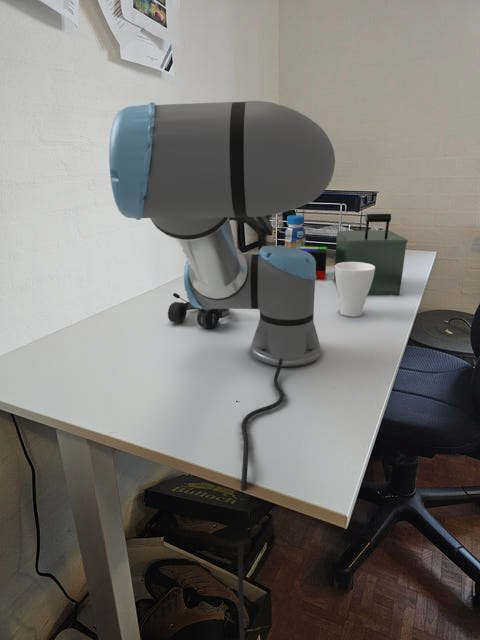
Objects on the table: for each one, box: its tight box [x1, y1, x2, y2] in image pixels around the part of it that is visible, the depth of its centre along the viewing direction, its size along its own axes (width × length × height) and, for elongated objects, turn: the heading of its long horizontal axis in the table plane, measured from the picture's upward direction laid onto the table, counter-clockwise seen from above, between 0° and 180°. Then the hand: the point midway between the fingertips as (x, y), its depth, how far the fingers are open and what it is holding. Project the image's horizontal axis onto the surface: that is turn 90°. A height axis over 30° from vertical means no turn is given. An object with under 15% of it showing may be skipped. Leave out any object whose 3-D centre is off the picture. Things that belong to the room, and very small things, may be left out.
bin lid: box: [336, 213, 409, 243], centre depth 128 cm, size 18×18×8 cm
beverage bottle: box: [284, 214, 306, 249], centre depth 163 cm, size 8×8×20 cm
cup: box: [334, 262, 375, 318], centre depth 110 cm, size 10×10×14 cm
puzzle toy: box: [299, 246, 328, 281], centre depth 148 cm, size 10×10×10 cm
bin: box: [333, 232, 408, 296], centre depth 132 cm, size 18×18×17 cm
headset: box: [167, 292, 230, 329], centre depth 108 cm, size 14×10×20 cm
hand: (236, 251), depth 113 cm, fingers open, 13 cm apart
